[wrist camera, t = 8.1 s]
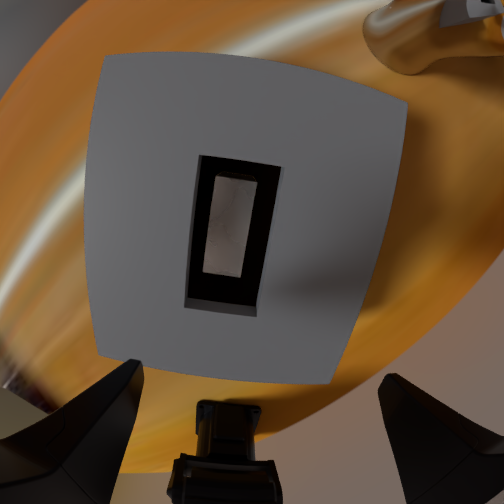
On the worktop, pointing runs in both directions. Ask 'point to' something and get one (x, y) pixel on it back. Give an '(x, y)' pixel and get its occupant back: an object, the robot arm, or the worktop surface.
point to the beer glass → (434, 32)
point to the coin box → (283, 221)
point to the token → (229, 223)
